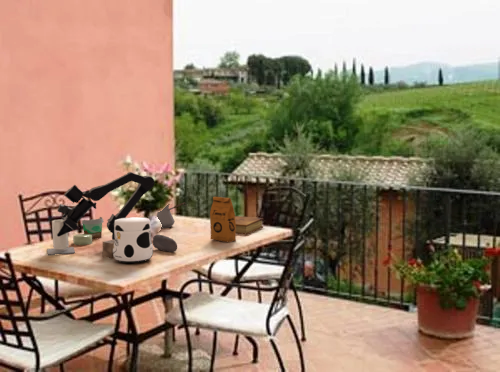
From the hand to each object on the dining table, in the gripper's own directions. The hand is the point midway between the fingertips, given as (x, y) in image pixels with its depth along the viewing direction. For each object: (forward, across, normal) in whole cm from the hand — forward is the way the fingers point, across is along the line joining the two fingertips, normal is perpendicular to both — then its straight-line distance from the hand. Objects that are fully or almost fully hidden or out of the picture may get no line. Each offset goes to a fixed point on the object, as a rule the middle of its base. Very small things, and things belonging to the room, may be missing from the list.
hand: (57, 234), depth 296 cm
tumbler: (+4, 0, +6) cm, 7 cm away
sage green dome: (-3, -16, +15) cm, 22 cm away
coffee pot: (-38, -42, +50) cm, 75 cm away
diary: (-61, -23, +75) cm, 99 cm away
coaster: (+5, 0, +7) cm, 8 cm away
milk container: (-15, +30, +28) cm, 43 cm away
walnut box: (-10, +18, +22) cm, 30 cm away
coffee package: (-50, +2, +63) cm, 80 cm away
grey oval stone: (-28, +15, +40) cm, 51 cm away
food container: (-8, -27, +20) cm, 34 cm away
